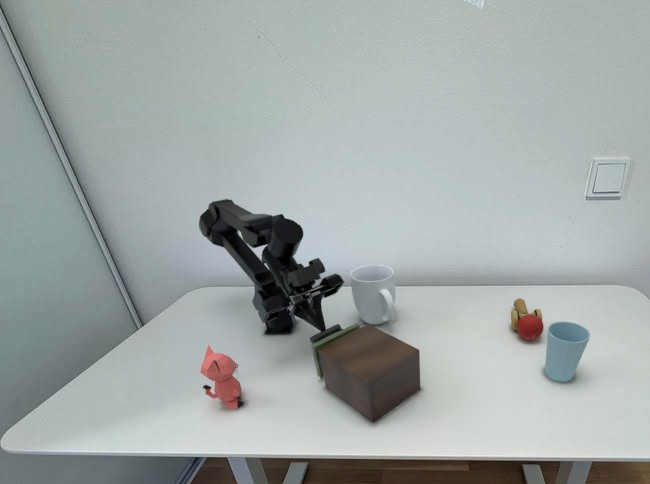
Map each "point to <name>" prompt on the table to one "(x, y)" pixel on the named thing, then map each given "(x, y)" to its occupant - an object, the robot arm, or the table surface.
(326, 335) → the drawer
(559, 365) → the cup
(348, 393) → the cabinet
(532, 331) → the kendama
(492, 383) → the table surface
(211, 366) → the cat figurine
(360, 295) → the mug
